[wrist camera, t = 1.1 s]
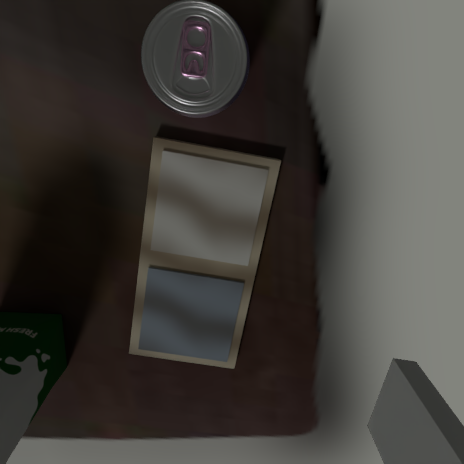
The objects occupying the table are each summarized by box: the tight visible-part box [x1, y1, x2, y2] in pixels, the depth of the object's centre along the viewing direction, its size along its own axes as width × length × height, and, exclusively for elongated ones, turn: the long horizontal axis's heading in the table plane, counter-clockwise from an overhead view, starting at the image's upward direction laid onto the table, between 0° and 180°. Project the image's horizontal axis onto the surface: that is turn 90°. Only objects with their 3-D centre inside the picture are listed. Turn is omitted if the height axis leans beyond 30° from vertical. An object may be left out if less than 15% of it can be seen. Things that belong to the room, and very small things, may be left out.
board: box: [129, 136, 281, 369], centre depth 39 cm, size 24×12×2 cm, turn 170°
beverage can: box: [141, 0, 250, 118], centre depth 27 cm, size 6×6×15 cm
